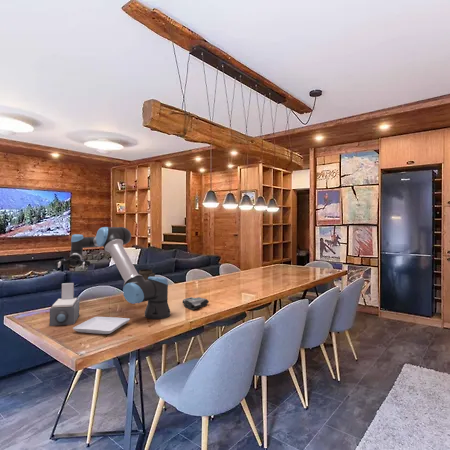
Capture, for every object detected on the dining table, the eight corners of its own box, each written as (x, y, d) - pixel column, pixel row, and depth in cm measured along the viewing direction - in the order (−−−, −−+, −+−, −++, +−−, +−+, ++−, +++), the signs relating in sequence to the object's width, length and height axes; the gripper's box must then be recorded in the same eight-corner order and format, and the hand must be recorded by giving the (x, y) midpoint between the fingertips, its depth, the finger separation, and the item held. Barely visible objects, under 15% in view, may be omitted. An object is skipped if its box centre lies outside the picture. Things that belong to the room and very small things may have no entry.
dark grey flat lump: (210, 304, 223) (210, 297, 223) (196, 311, 204) (196, 303, 204) (189, 302, 229) (189, 295, 229) (173, 309, 210) (173, 301, 210)
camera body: (73, 325, 173) (73, 308, 173) (48, 327, 170) (48, 309, 170) (79, 314, 193) (79, 299, 193) (56, 316, 190) (57, 300, 189)
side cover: (72, 306, 176) (72, 288, 176) (52, 307, 173) (52, 288, 173) (77, 299, 192) (77, 282, 191) (58, 300, 189) (58, 283, 189)
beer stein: (134, 296, 243) (135, 269, 242) (142, 293, 253) (144, 268, 252) (151, 299, 237) (153, 272, 237) (159, 296, 247) (161, 270, 247)
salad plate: (71, 334, 161) (71, 327, 161) (95, 321, 182) (95, 315, 182) (110, 337, 157) (110, 330, 157) (130, 324, 178) (130, 318, 178)
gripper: (94, 265, 220) (92, 272, 200) (53, 264, 212) (47, 271, 192) (95, 254, 220) (93, 260, 200) (54, 253, 212) (48, 259, 192)
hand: (71, 265), depth 196 cm, fingers open, 13 cm apart
